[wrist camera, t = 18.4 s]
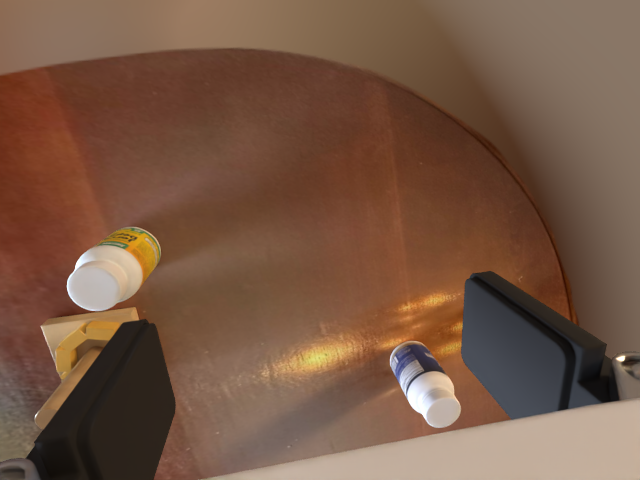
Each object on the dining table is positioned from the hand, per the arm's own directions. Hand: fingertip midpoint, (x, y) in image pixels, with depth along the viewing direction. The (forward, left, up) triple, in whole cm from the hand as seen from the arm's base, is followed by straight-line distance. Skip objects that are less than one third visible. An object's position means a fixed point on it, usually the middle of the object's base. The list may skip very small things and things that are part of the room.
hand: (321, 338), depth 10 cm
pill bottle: (+24, +14, -28) cm, 40 cm away
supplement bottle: (+5, -16, -28) cm, 33 cm away
